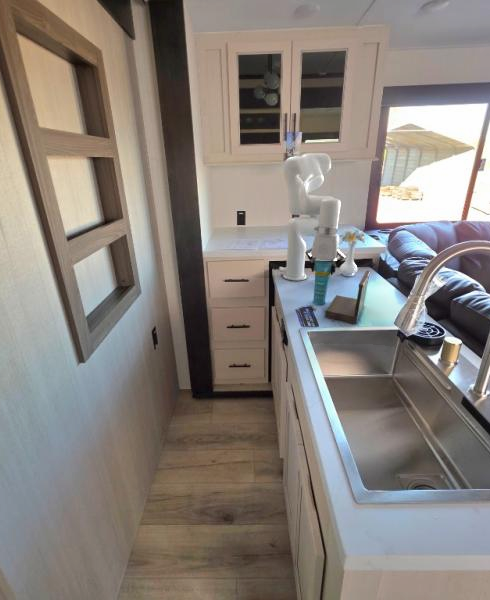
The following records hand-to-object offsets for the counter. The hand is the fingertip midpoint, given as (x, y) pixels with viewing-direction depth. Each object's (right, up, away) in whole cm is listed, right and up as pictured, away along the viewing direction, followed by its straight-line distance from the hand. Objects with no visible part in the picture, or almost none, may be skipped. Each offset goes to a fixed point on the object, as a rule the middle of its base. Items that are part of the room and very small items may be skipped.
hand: (322, 272), depth 133 cm
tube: (0, -13, +6) cm, 14 cm away
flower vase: (+24, +2, +41) cm, 47 cm away
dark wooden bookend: (+9, -17, -3) cm, 19 cm away
